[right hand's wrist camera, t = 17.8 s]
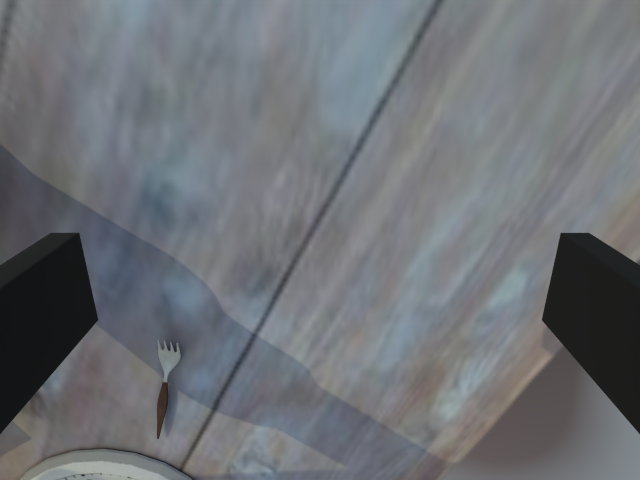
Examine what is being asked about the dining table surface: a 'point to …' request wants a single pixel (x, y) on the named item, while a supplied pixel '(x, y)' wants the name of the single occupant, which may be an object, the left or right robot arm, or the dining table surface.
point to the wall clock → (102, 467)
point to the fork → (165, 379)
